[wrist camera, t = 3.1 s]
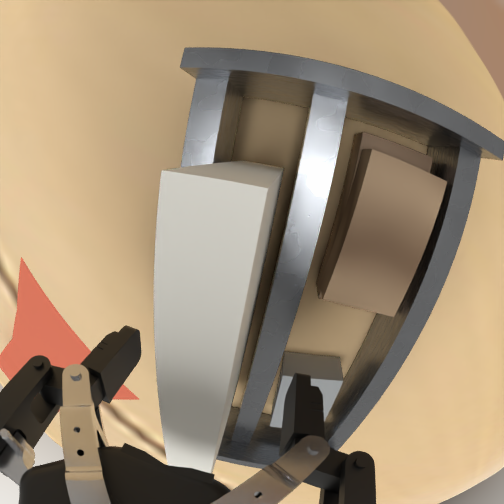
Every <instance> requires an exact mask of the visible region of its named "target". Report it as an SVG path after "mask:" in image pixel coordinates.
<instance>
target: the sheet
mask: <svg viewBox="0 0 504 504" xmlns="http://www.w3.org/2000/svg"><path fill="white" fill-rule="evenodd" d="M90 353H91V351H90V350H89V349H88V348H87V347H86V345H85V344H84V343H83V342H82V341H81V340H80V339H79V337H78V336H77V335H76V334H75V333H74V331H73V330H72V329H71V328H70V326H69V325H68V324H67V323H66V321H65V320H64V319H63V318H62V316H61V315H60V314H59V312H58V311H57V310H56V308H55V307H54V306H53V304H52V303H51V302H50V300H49V299H48V297H47V296H46V295H45V293H44V292H43V290H42V289H41V287H40V286H39V284H38V283H37V281H36V280H35V278H34V277H33V275H32V274H31V272H30V270H29V269H28V267H27V266H26V264H25V262H24V261H23V259H22V257H21V263H20V272H19V284H18V302H17V313H16V318H15V324H14V330H13V338H12V340H11V341H10V342H9V344H8V345H7V346H6V347H5V349H4V350H3V351H2V353H1V355H0V368H1V369H2V371H3V372H4V373H5V375H6V376H7V377H8V378H9V380H11V379H12V378H13V377H14V376H15V375H16V374H17V372H18V371H19V370H20V369H21V368H22V367H23V366H24V365H25V364H26V363H27V362H28V361H29V359H31V358H32V357H34V356H37V355H43V356H45V357H47V358H48V359H49V361H50V363H51V365H53V366H57V367H61V368H66V367H67V366H69V365H72V364H81V363H82V361H83V360H84V359H85V358H86V357H87V356H88V355H89V354H90ZM36 396H37V395H36ZM113 399H139V398H138V397H136V396H135V395H134V394H133V393H132V392H131V391H130V390H129V389H128V388H126V387H125V386H124V385H122V386H121V387H120V389H119V390H118V392H117V393H116V395H115V396H114V398H113ZM59 411H60V409H59ZM59 411H58V412H59ZM58 412H57V413H58Z"/></svg>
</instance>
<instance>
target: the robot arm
mask: <svg viewBox="0 0 504 504" xmlns="http://www.w3.org/2000/svg"><path fill="white" fill-rule="evenodd" d="M140 357H141V341H140V331H139V330H137V329H134V328H132V327H129V326H124V327H123V328H122V329H121V330H120V331H119V332H116V331H114V332H112V333H110V334H108V335H106V337H105V338H104V339H103V340H102V341H101V343H99V344H98V345H97V347H95V348H94V349H93V350H92V352H91V353H90V354H89V355H88V356H87V357H86V358H85V359H84V360H83V361H82V363H81V364H72V365H69V366H67V367H66V368H61V367H57V366H53V365H51V363H50V361H49V359H48V358H47V357H45V356H43V355H37V356H34V357H32V358H31V359H29V361H28V362H27V363H26V364H25V365H24V366H23V367H22V368H21V369H20V370H19V371H18V372H17V374H16V375H15V376H14V377H13V378H12V379H11V380H10V381H9V383H8V384H7V385H6V386H5V387H4V388H3V389H2V391H1V392H0V472H1V473H3V474H4V475H5V476H7V477H9V478H10V479H11V480H13V481H14V482H15V483H16V484H18V485H19V486H20V497H19V504H278V503H279V502H280V501H281V500H283V499H284V498H285V497H286V496H287V495H288V494H290V493H291V492H292V491H293V490H294V489H295V488H296V487H297V486H299V485H300V484H301V483H302V482H304V483H307V484H310V485H313V486H315V487H318V488H321V491H320V500H319V504H376V485H375V464H374V460H373V458H372V457H371V456H370V455H369V454H368V453H366V452H362V451H356V452H353V453H351V454H350V455H348V454H345V453H342V452H339V451H337V450H334V449H333V448H331V447H330V446H329V444H328V442H327V441H326V440H325V434H324V412H323V411H324V408H323V394H322V392H321V391H320V389H319V387H317V386H311V376H310V375H307V374H301V373H295V374H294V376H293V379H292V381H291V383H290V386H289V388H288V390H287V393H286V396H285V401H284V411H283V421H282V431H281V441H280V450H279V456H282V457H280V458H279V459H278V460H277V461H276V462H274V463H273V464H271V465H268V466H266V467H264V468H263V469H262V470H260V471H259V472H258V473H256V474H255V475H254V476H252V477H251V478H249V479H248V480H247V481H245V482H244V483H242V484H241V485H239V486H238V487H236V488H235V489H233V490H232V491H230V490H229V489H228V488H227V487H226V486H225V485H223V484H222V483H220V482H218V481H216V480H214V475H215V474H211V473H207V472H204V471H200V470H196V469H193V468H186V467H177V466H169V465H165V464H163V463H162V462H160V461H158V460H157V459H155V458H154V457H152V456H151V455H149V454H148V453H146V452H145V451H142V450H140V449H137V448H135V447H133V446H131V445H128V444H126V443H124V445H123V447H116V446H109V445H108V442H107V439H106V436H105V431H104V426H103V421H102V416H101V410H100V405H99V404H100V403H101V401H102V400H103V401H105V402H107V403H110V402H111V400H112V399H113V398H114V396H115V395H116V393H117V392H118V390H119V389H120V387H121V386H122V385H123V383H124V382H125V380H126V379H127V377H128V376H129V375H130V373H131V372H132V370H133V369H134V367H135V366H136V365H137V363H138V362H139V360H140ZM36 395H37V396H36ZM59 409H60V425H61V437H62V446H63V453H64V459H63V460H59V461H55V462H52V463H48V464H44V465H40V466H35V467H33V465H34V463H35V461H34V458H35V453H34V450H33V449H34V447H35V445H36V444H37V442H38V441H39V439H40V438H41V436H42V435H43V433H44V432H45V430H46V429H47V427H48V426H49V424H50V423H51V421H52V420H53V418H54V417H55V415H56V414H57V412H58V411H59Z"/></svg>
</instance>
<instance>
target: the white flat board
mask: <svg viewBox="0 0 504 504" xmlns="http://www.w3.org/2000/svg"><path fill="white" fill-rule="evenodd" d="M283 172H284V168H281V167H276V166H271V165H266V164H260V163H255V162H250V161H232V162H222V163H213V164H204V165H196V166H188V167H181V168H174V169H167V170H162V171H161V180H160V189H159V199H158V211H157V223H156V239H155V261H154V338H155V359H156V374H157V386H158V397H159V407H160V415H161V423H162V431H163V438H164V444H165V451H166V457H167V462H168V465H169V466H177V467H186V468H193V469H196V470H200V471H204V472H207V473H211V474H212V472H213V469H214V465H215V462H216V458H217V455H218V451H219V448H220V444H221V441H222V437H223V434H224V430H225V427H226V423H227V420H228V416H229V412H230V409H231V405H232V402H233V398H234V394H235V391H236V387H237V383H238V379H239V375H240V371H241V366H242V362H243V358H244V353H245V349H246V345H247V340H248V336H249V331H250V327H251V323H252V318H253V314H254V309H255V305H256V300H257V296H258V291H259V286H260V282H261V277H262V273H263V268H264V263H265V259H266V254H267V249H268V245H269V240H270V235H271V231H272V226H273V221H274V216H275V211H276V207H277V202H278V197H279V192H280V187H281V182H282V177H283Z"/></svg>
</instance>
